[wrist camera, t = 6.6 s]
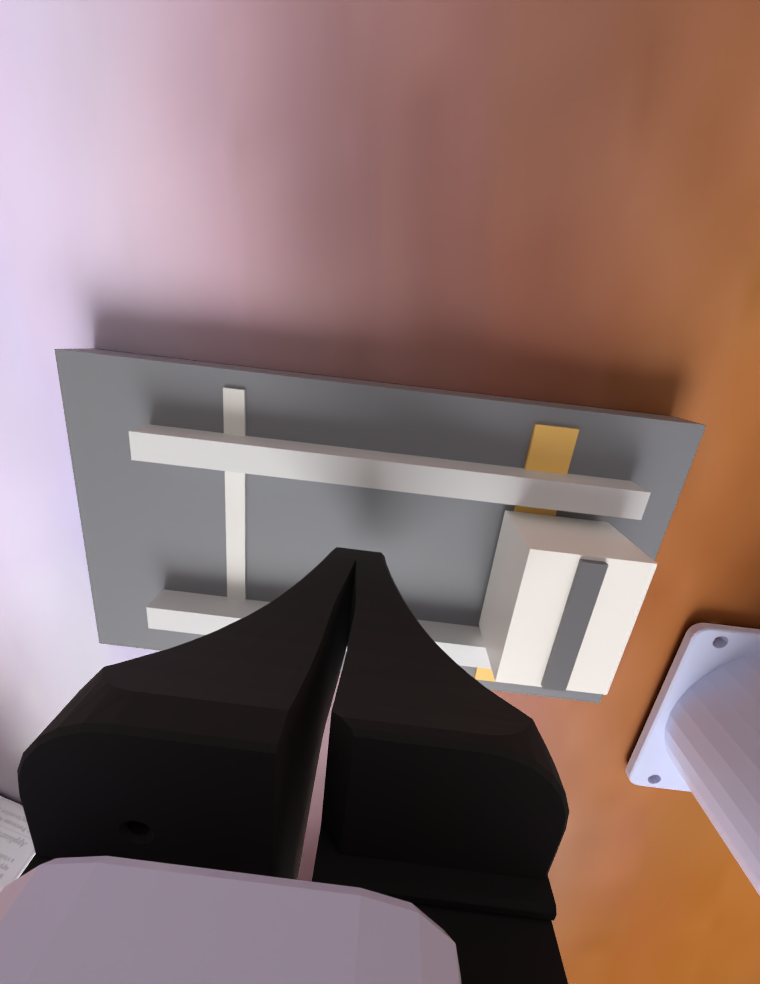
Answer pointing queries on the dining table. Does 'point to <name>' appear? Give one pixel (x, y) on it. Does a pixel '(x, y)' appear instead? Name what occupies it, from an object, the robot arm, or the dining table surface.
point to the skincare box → (13, 842)
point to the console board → (333, 489)
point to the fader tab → (561, 601)
